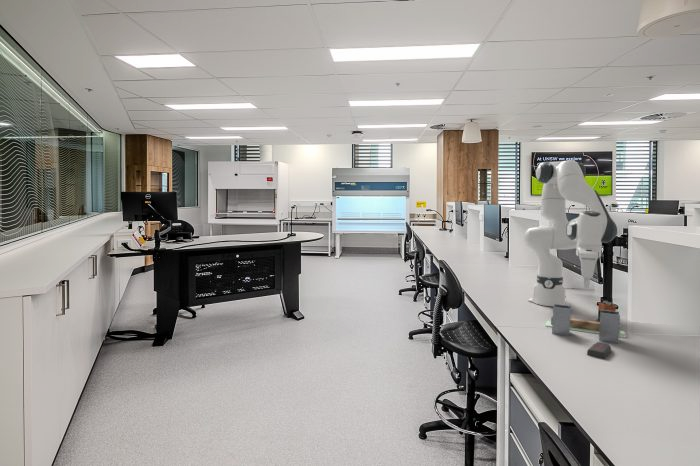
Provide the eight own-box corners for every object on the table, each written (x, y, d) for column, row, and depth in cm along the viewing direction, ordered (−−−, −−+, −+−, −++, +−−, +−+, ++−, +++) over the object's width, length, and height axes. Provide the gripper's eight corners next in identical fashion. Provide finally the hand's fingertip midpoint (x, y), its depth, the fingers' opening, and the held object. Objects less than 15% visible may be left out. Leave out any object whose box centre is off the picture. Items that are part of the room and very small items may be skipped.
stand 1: (552, 329, 169) (554, 303, 168) (569, 331, 166) (571, 305, 165) (551, 333, 164) (553, 307, 163) (569, 335, 161) (570, 309, 160)
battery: (603, 326, 173) (604, 303, 172) (597, 322, 180) (598, 299, 179) (614, 327, 172) (616, 304, 171) (608, 323, 179) (609, 300, 178)
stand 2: (598, 336, 161) (600, 309, 160) (617, 338, 158) (618, 311, 157) (599, 340, 156) (600, 313, 155) (618, 343, 153) (619, 315, 152)
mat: (547, 321, 180) (547, 320, 180) (624, 332, 166) (624, 331, 166) (545, 326, 173) (545, 325, 173) (625, 337, 159) (625, 336, 159)
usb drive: (586, 355, 141) (587, 348, 141) (596, 347, 149) (596, 339, 149) (604, 360, 137) (605, 352, 137) (612, 351, 146) (613, 343, 146)
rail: (550, 324, 174) (551, 317, 174) (551, 322, 177) (551, 315, 177) (619, 334, 162) (620, 326, 162) (618, 332, 165) (619, 324, 165)
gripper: (579, 248, 178) (578, 280, 179) (579, 254, 160) (577, 289, 161) (597, 249, 174) (595, 281, 176) (598, 255, 157) (596, 291, 158)
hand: (586, 285), depth 168 cm, fingers open, 8 cm apart
